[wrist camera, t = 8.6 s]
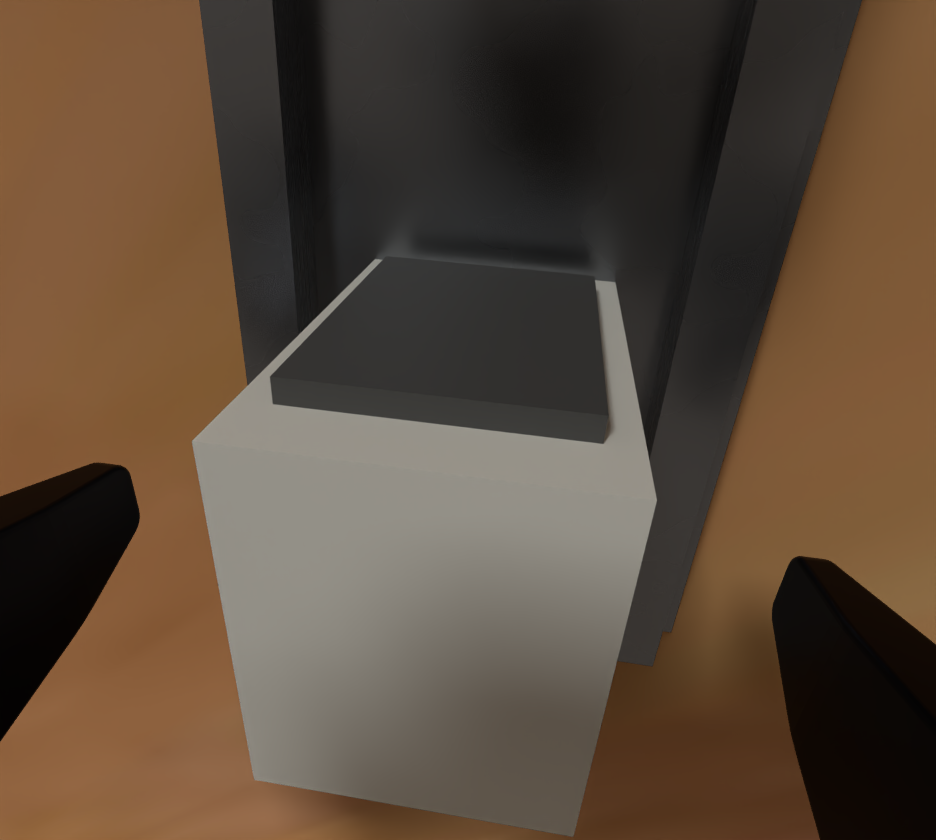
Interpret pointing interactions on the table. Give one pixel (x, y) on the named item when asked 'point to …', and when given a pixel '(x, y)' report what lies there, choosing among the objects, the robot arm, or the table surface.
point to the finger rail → (538, 183)
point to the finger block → (434, 540)
